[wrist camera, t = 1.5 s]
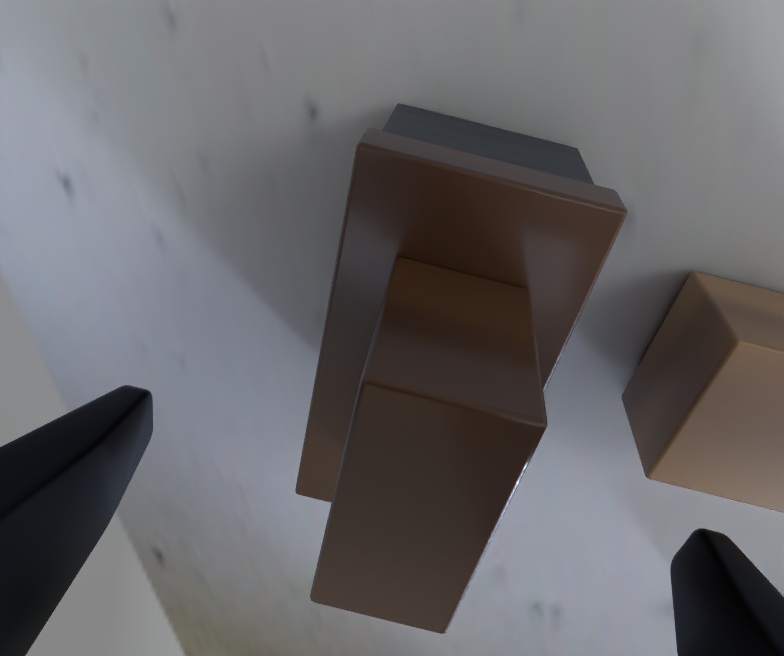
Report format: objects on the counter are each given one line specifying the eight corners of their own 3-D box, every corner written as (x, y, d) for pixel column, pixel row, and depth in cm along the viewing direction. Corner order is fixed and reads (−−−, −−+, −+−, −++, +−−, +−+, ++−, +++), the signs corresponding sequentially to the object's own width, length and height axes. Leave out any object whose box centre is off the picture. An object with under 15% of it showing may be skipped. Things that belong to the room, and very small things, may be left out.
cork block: (762, 432, 16) (813, 521, 14) (619, 396, 16) (644, 479, 14) (856, 310, 14) (939, 390, 11) (691, 268, 14) (737, 339, 11)
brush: (477, 425, 17) (475, 698, 11) (330, 388, 17) (243, 640, 11) (591, 141, 13) (697, 332, 6) (390, 90, 13) (297, 231, 6)
